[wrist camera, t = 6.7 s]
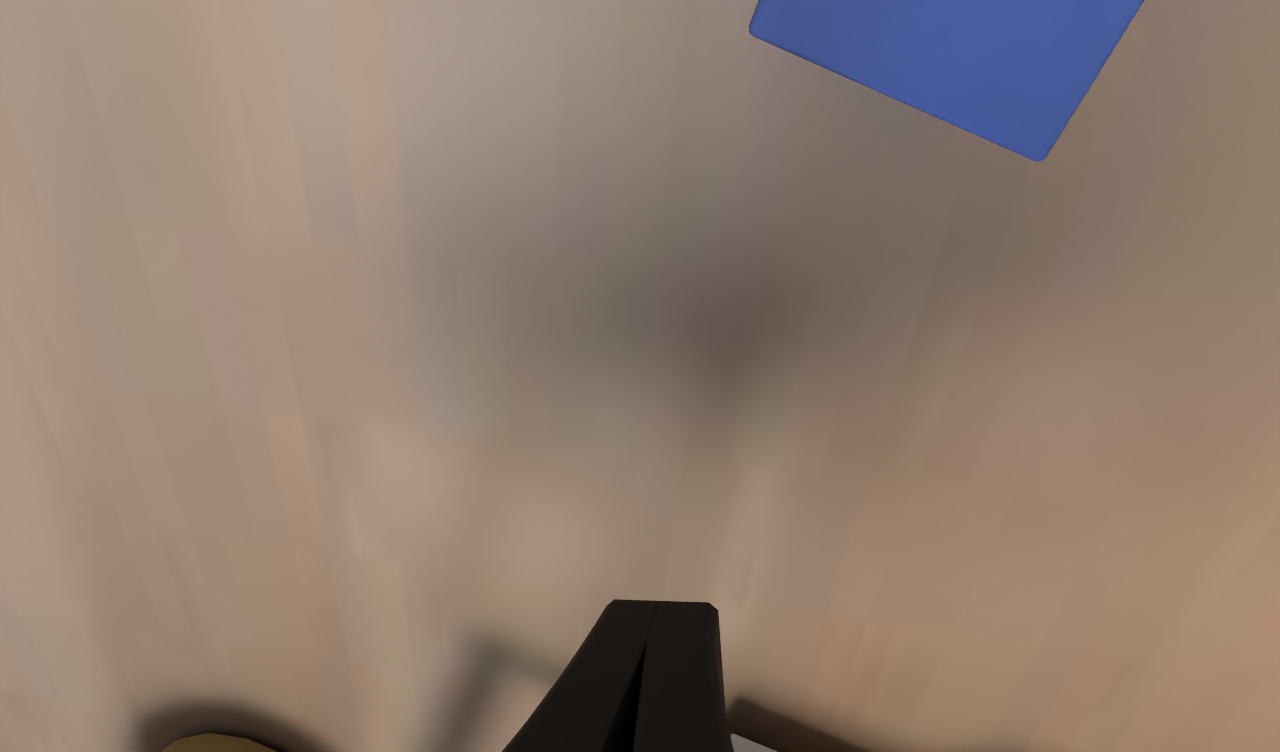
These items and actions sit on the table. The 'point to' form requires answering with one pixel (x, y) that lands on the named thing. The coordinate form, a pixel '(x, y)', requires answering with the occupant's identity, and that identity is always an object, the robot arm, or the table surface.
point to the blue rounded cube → (961, 56)
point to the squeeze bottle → (215, 744)
